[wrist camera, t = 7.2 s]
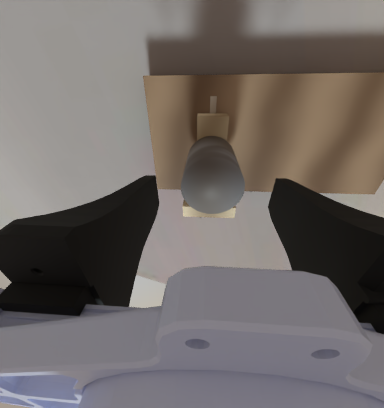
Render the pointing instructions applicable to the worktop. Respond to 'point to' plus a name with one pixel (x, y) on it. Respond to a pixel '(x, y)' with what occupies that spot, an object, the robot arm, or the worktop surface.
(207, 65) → the worktop surface
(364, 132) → the board
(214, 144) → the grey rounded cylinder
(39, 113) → the worktop surface
